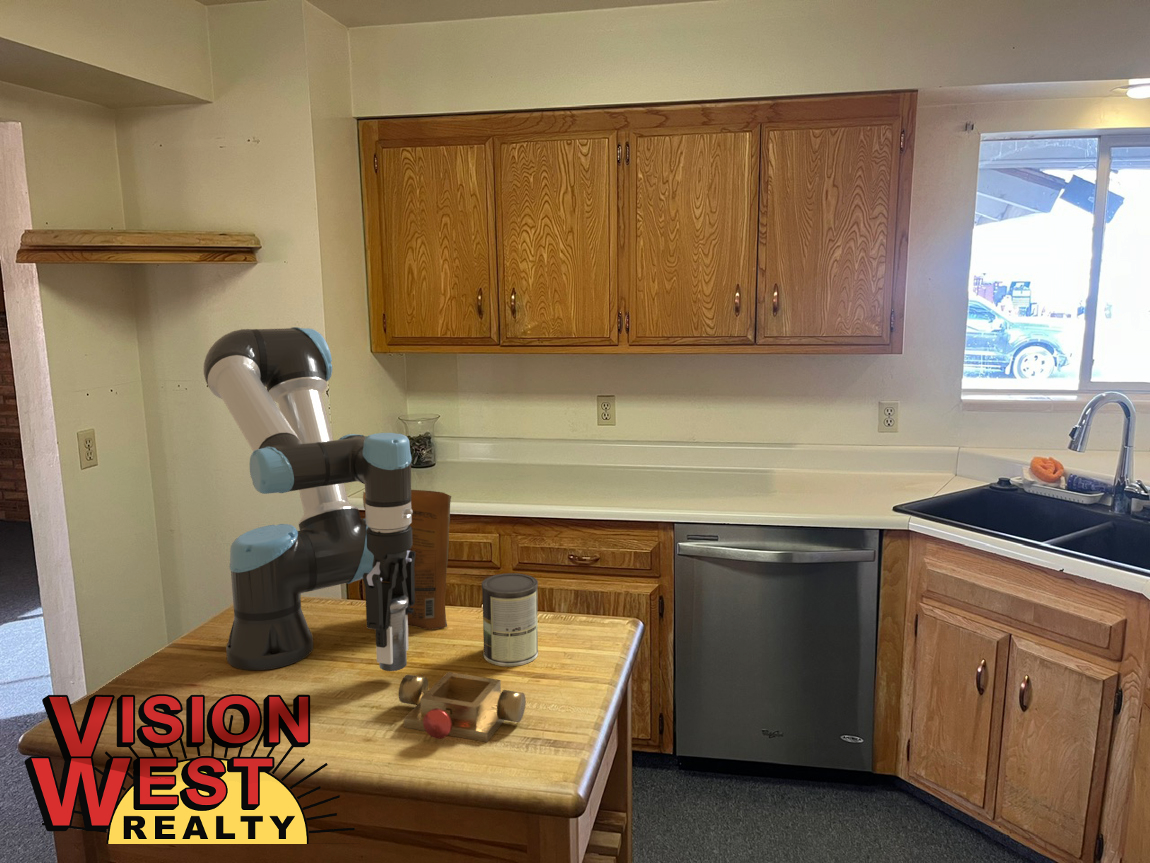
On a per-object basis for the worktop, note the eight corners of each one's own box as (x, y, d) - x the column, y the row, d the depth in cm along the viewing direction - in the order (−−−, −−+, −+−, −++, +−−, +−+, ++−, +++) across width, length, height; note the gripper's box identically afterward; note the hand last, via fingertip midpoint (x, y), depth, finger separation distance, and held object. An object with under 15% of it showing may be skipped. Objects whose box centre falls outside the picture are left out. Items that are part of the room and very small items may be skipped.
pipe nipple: (370, 669, 139) (367, 603, 137) (387, 655, 144) (385, 591, 142) (399, 674, 137) (397, 607, 135) (415, 660, 142) (414, 595, 140)
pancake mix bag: (441, 636, 158) (442, 495, 155) (360, 620, 166) (360, 485, 162) (458, 625, 165) (460, 489, 161) (380, 610, 172) (380, 480, 169)
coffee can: (471, 656, 150) (469, 583, 148) (510, 638, 158) (509, 569, 156) (511, 672, 144) (510, 596, 142) (549, 652, 152) (549, 580, 150)
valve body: (378, 732, 124) (376, 701, 123) (423, 689, 138) (422, 660, 137) (499, 754, 118) (498, 721, 117) (534, 707, 132) (533, 677, 131)
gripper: (381, 544, 127) (385, 682, 131) (434, 514, 143) (436, 637, 148) (339, 539, 129) (344, 675, 133) (396, 510, 145) (399, 631, 150)
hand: (392, 655), depth 140 cm, fingers closed on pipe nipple, 5 cm apart
